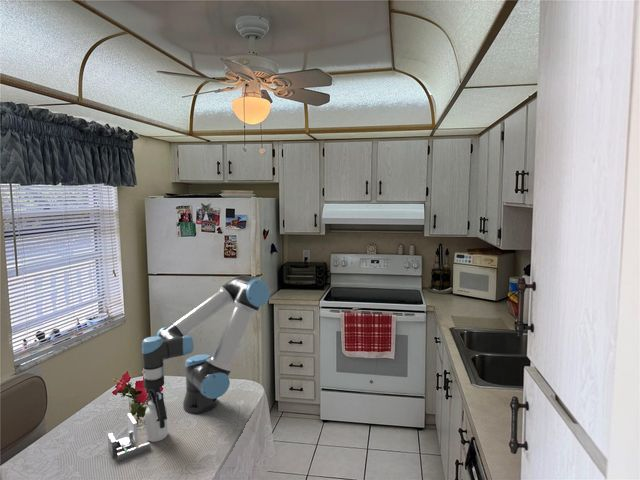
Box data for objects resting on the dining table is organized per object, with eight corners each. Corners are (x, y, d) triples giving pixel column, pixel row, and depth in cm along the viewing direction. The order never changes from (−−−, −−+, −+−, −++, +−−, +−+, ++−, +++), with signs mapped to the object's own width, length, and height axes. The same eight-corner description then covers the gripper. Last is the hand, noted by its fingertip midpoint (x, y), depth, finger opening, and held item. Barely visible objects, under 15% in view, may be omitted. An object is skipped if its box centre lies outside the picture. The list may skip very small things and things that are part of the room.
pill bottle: (145, 443, 161) (143, 407, 159) (148, 432, 168) (146, 397, 167) (166, 440, 163) (164, 404, 161) (168, 429, 171) (166, 395, 169)
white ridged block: (142, 436, 166) (142, 422, 165) (150, 449, 157) (149, 434, 157) (108, 448, 158) (107, 433, 157) (115, 462, 150) (114, 447, 149)
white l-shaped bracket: (132, 437, 164) (130, 412, 163) (140, 452, 155) (139, 426, 153) (117, 442, 161) (116, 417, 160) (125, 458, 151) (124, 431, 150)
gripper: (135, 368, 170) (138, 417, 173) (153, 390, 151) (156, 445, 153) (153, 363, 175) (156, 411, 177) (174, 384, 155) (176, 437, 158)
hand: (156, 427), depth 165 cm, fingers open, 13 cm apart
